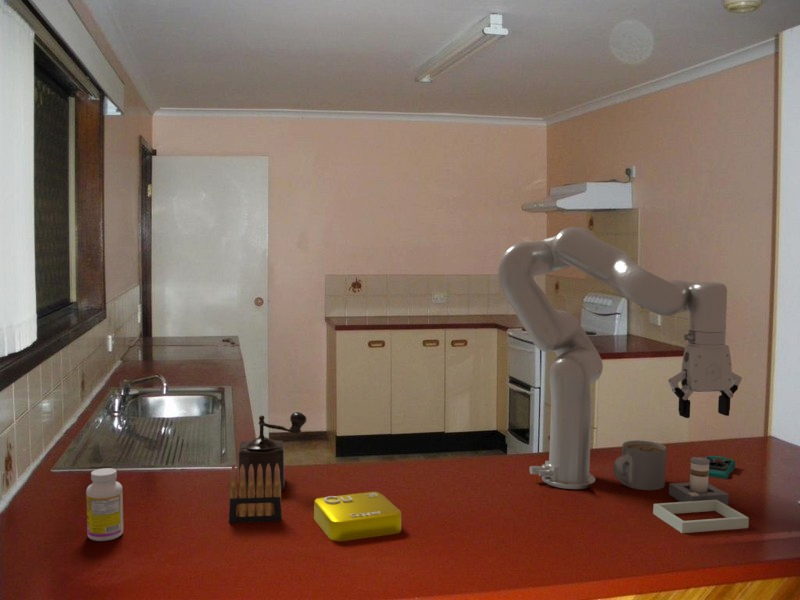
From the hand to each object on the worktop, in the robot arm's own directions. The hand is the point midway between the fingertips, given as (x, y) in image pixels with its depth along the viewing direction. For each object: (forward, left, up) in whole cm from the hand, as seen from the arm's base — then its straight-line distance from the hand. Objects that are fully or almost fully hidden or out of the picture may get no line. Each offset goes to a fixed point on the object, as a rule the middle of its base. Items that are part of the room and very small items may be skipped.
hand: (704, 415), depth 180 cm
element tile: (-77, +2, -21) cm, 80 cm away
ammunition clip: (-97, +8, -21) cm, 100 cm away
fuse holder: (0, 0, -20) cm, 20 cm away
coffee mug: (-8, +13, -21) cm, 26 cm away
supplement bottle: (-126, +5, -20) cm, 128 cm away
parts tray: (-7, -11, -20) cm, 24 cm away
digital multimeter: (+18, +20, -21) cm, 34 cm away
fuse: (0, 0, -19) cm, 19 cm away
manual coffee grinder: (-92, +30, -21) cm, 99 cm away
